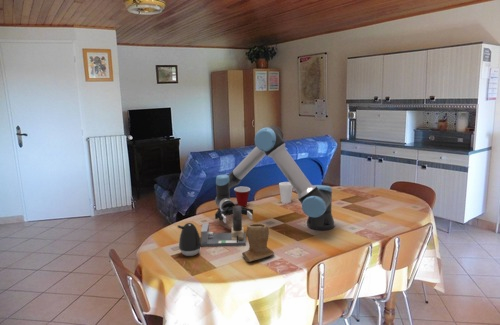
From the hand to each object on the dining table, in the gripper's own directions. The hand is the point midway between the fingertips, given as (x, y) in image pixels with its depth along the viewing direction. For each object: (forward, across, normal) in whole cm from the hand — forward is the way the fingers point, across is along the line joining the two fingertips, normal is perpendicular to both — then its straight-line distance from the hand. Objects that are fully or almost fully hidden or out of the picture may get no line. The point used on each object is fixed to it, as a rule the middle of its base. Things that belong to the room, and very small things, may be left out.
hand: (238, 218), depth 187 cm
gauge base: (-5, +6, -12) cm, 14 cm away
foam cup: (-56, -50, -13) cm, 76 cm away
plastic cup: (-59, -20, -13) cm, 63 cm away
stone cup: (+18, -3, -13) cm, 23 cm away
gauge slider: (-1, +1, -11) cm, 11 cm away
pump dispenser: (+5, +26, -13) cm, 29 cm away
